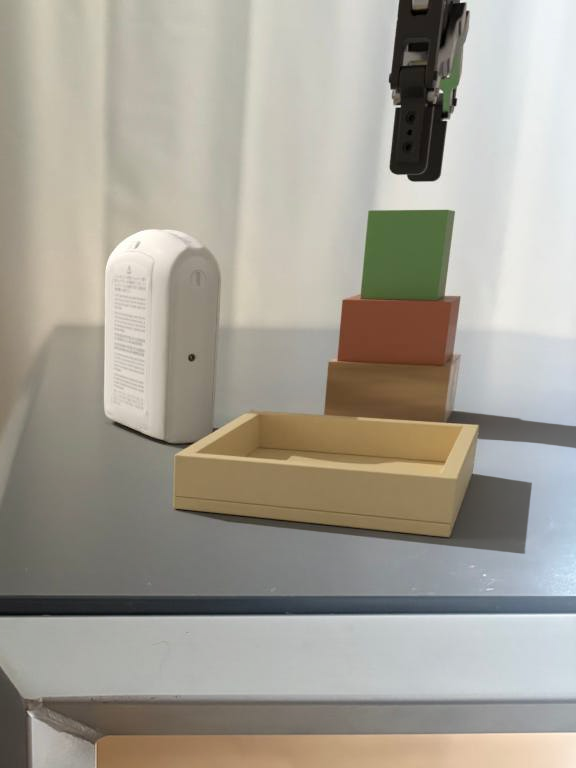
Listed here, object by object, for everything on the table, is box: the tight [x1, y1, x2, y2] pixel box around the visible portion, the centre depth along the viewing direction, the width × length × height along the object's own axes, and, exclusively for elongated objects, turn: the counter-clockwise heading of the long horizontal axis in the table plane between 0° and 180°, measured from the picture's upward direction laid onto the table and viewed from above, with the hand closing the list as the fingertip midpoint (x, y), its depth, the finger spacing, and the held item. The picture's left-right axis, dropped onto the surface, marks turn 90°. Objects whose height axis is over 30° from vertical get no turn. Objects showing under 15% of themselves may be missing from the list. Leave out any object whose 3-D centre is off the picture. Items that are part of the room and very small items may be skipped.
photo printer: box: [103, 228, 222, 445], centre depth 64 cm, size 10×4×12 cm, turn 23°
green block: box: [360, 209, 456, 301], centre depth 67 cm, size 5×5×6 cm
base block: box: [323, 353, 462, 423], centre depth 71 cm, size 8×8×4 cm
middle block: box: [336, 293, 462, 366], centre depth 69 cm, size 7×7×4 cm
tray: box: [172, 409, 480, 538], centre depth 50 cm, size 14×13×3 cm
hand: (415, 178), depth 66 cm, fingers open, 8 cm apart
